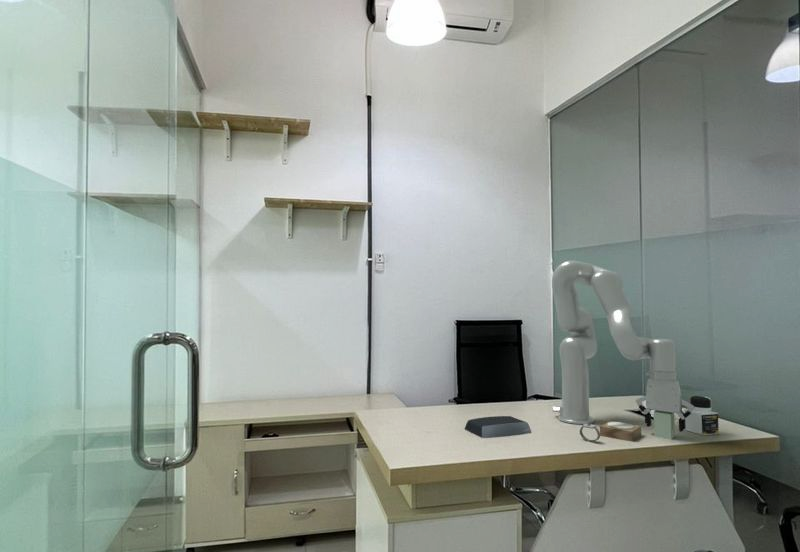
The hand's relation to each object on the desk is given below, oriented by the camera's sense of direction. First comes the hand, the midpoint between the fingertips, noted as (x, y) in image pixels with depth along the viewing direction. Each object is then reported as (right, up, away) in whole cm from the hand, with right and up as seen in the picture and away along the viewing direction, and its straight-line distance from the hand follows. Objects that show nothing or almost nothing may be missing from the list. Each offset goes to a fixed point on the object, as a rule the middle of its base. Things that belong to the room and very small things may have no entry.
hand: (664, 428), depth 157 cm
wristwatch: (-27, -2, -6) cm, 28 cm away
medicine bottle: (+16, -3, +6) cm, 17 cm away
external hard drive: (-54, -3, +5) cm, 55 cm away
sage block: (0, -3, 0) cm, 3 cm away
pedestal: (-14, -3, +1) cm, 15 cm away
